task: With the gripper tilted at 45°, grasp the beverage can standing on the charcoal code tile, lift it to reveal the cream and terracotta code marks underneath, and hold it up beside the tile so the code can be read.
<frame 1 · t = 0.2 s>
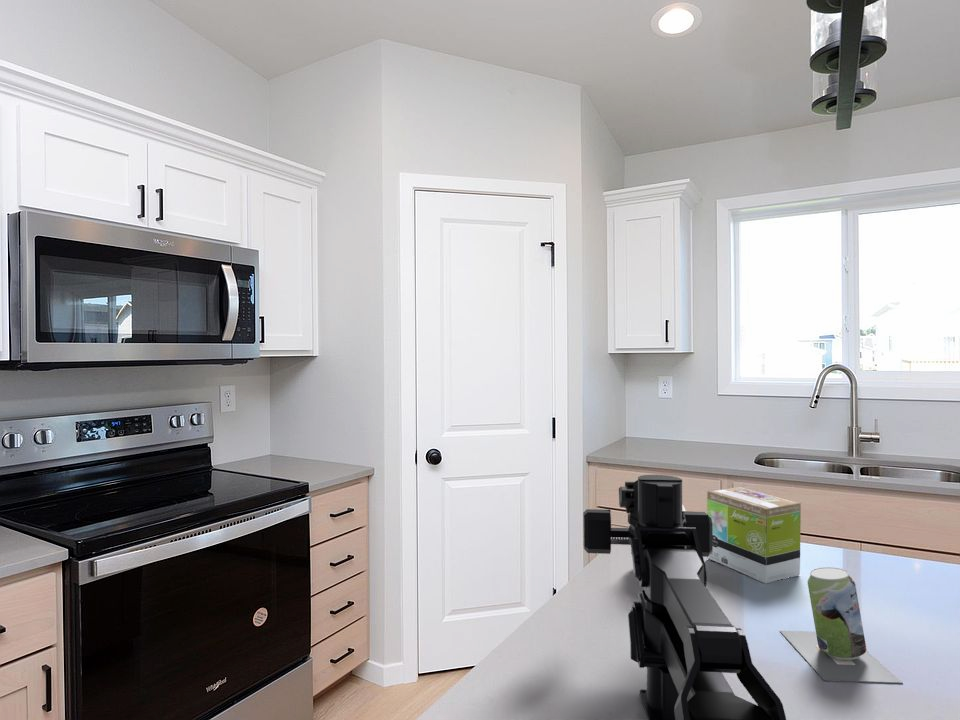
hand: (637, 517, 99), 17 cm above the countertop, tool horizontal, fingers open, 9 cm apart
code tile: (836, 655, 87), on the countertop
tea box: (751, 568, 121), on the countertop
honey pot: (666, 575, 118), on the countertop
beverage can: (836, 655, 87), resting on code tile
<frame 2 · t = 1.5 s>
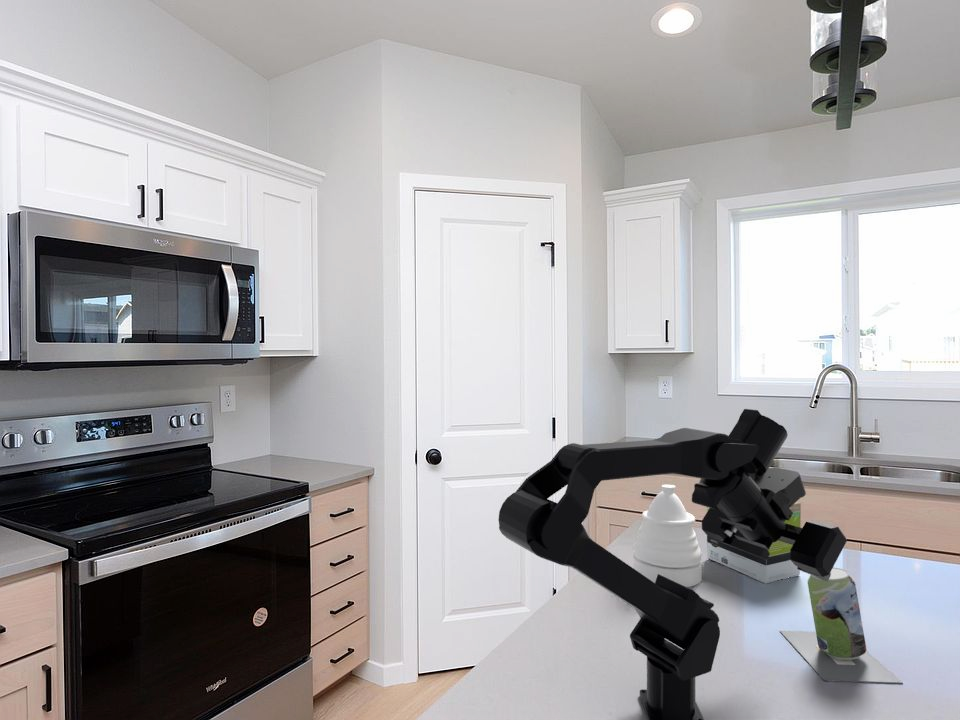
hand: (796, 566, 84), 14 cm above the countertop, tool tilted 45°, fingers open, 9 cm apart
nothing on the countertop moved.
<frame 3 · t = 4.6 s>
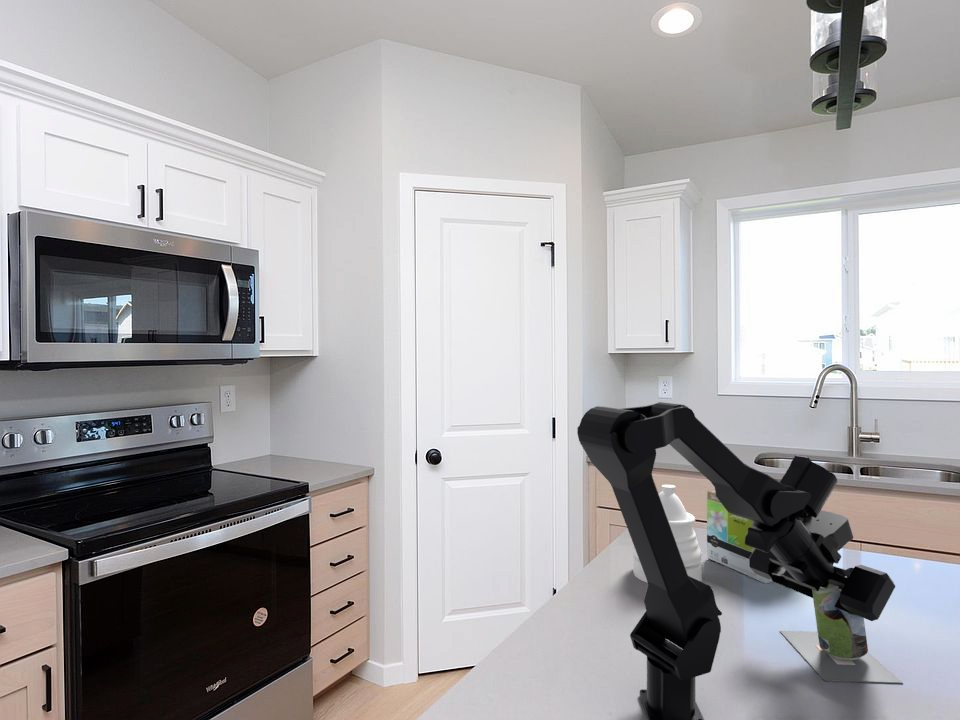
hand: (841, 606, 87), 7 cm above the countertop, tool tilted 45°, fingers closed on beverage can, 6 cm apart
beverage can: (837, 654, 86), resting on code tile, touching gripper
everything else where it was.
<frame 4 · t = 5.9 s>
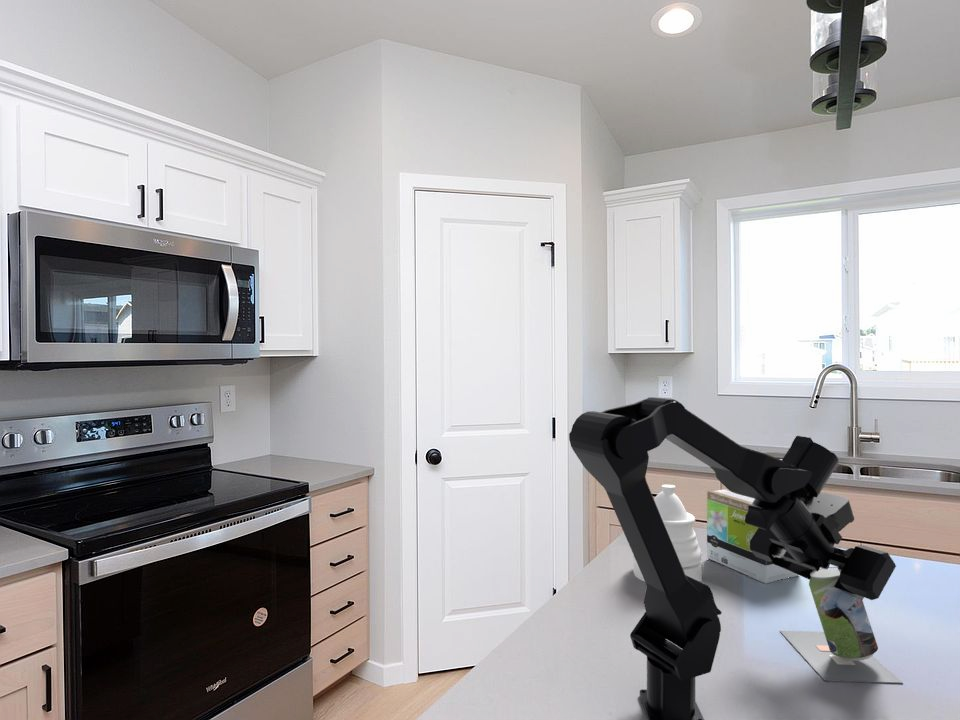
hand: (842, 589, 87), 9 cm above the countertop, tool tilted 45°, fingers closed on beverage can, 6 cm apart
beverage can: (848, 657, 85), point 1 cm above the countertop, touching gripper
everything else where it was.
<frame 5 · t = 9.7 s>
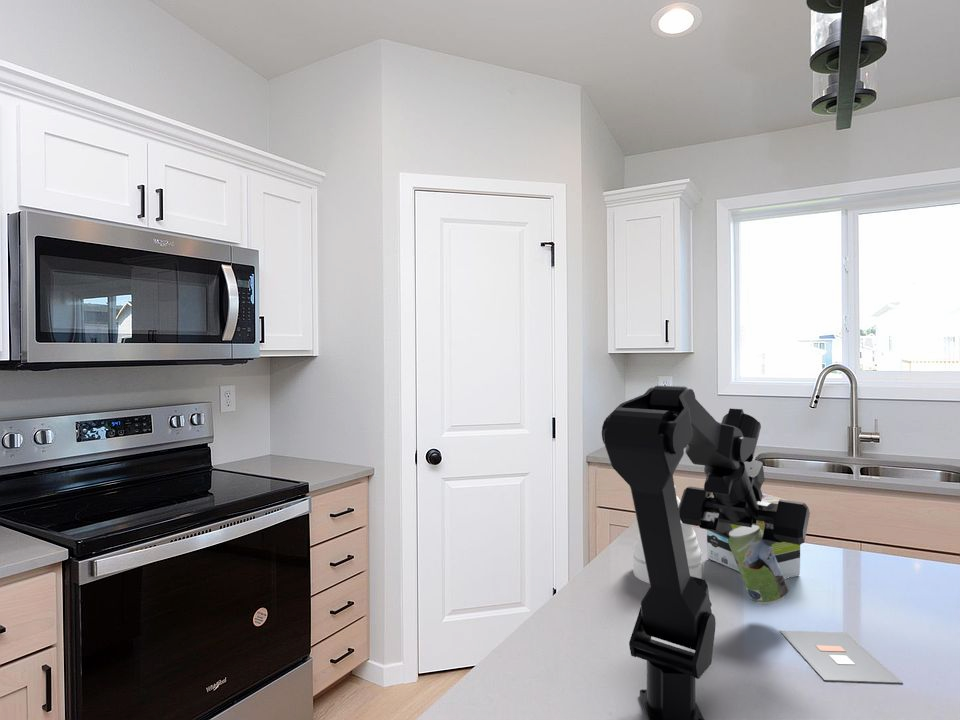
hand: (750, 541, 100), 12 cm above the countertop, tool tilted 45°, fingers closed on beverage can, 6 cm apart
beverage can: (766, 601, 97), point 3 cm above the countertop, touching gripper
everything else where it was.
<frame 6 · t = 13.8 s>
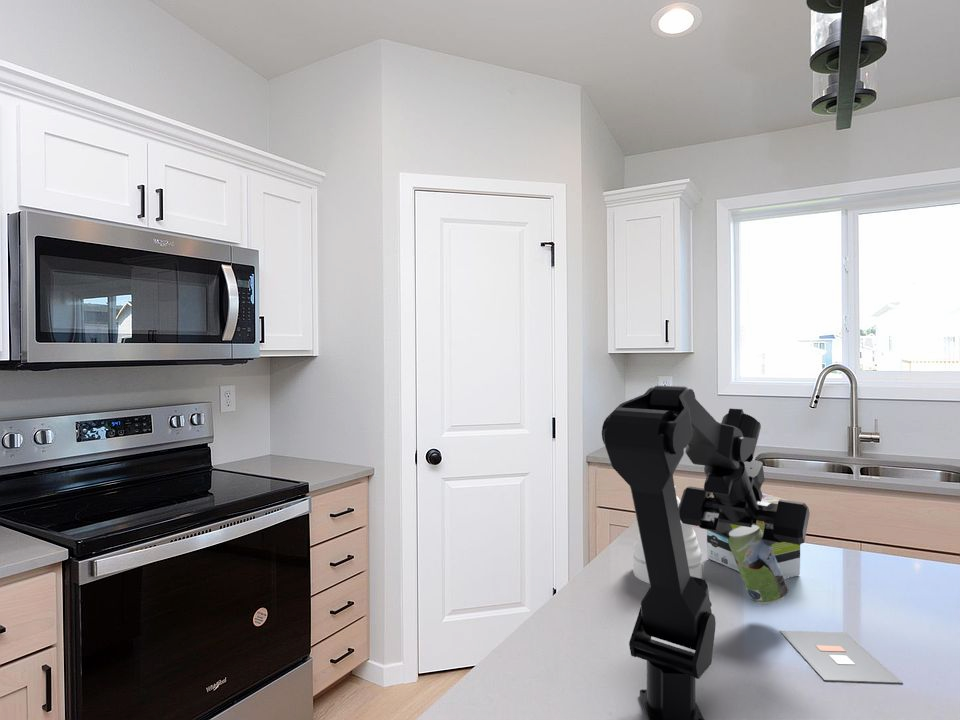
hand: (750, 541, 100), 12 cm above the countertop, tool tilted 45°, fingers closed on beverage can, 6 cm apart
beverage can: (766, 601, 97), point 3 cm above the countertop, touching gripper
everything else where it was.
at the end: the gripper is holding beverage can; beverage can inside the target area (3.1 cm from its centre), point 3.3 cm above the countertop; beverage can touching gripper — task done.
